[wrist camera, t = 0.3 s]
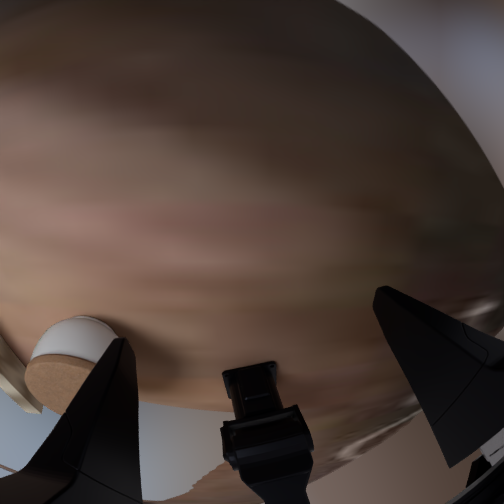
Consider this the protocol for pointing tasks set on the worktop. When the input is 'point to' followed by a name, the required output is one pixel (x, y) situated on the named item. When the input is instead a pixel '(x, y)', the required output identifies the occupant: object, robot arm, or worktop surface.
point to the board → (16, 380)
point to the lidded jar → (66, 359)
